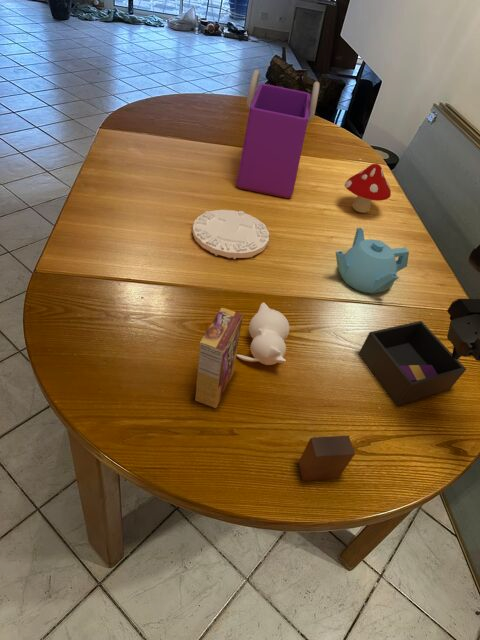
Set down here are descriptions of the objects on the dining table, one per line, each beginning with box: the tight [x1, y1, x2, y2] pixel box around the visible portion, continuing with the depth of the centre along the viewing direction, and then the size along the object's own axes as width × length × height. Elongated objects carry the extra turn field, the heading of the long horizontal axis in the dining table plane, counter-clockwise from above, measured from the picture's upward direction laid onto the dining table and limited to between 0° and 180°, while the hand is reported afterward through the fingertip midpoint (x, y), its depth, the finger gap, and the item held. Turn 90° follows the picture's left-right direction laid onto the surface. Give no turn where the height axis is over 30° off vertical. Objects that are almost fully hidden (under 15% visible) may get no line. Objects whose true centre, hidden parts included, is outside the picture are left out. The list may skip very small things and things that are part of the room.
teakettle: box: [335, 227, 410, 295], centre depth 101 cm, size 15×15×11 cm
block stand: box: [297, 435, 356, 482], centre depth 64 cm, size 6×3×8 cm, turn 98°
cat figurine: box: [236, 302, 291, 366], centre depth 81 cm, size 9×11×12 cm
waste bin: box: [358, 320, 467, 407], centre depth 82 cm, size 13×13×6 cm
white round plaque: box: [191, 209, 270, 260], centre depth 109 cm, size 20×20×3 cm
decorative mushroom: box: [344, 163, 392, 214], centre depth 125 cm, size 14×14×15 cm
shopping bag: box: [236, 69, 321, 199], centre depth 128 cm, size 28×22×30 cm
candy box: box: [194, 307, 244, 409], centre depth 70 cm, size 9×4×15 cm, turn 160°
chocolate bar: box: [400, 365, 438, 382], centre depth 81 cm, size 8×4×2 cm, turn 98°
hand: (468, 379), depth 69 cm, fingers open, 9 cm apart
